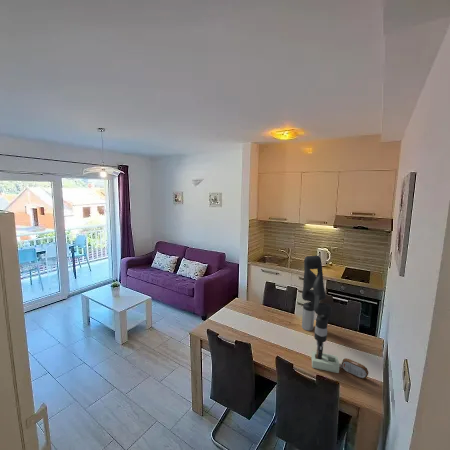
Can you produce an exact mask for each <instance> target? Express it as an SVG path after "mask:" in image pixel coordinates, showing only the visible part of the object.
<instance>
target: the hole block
mask: <svg viewBox="0 0 450 450" xmlns="http://www.w3.org/2000/svg"><path fill="white" fill-rule="evenodd" d="M316 353H317V351H313V350H312V351H311V367H312V369H317V370H321V371H322V370H323V371H327V372H331V373H336V374H339V373H340V361H339V356H338V355H334V354H330V353H324V352H323V353H322V354H323V355H322V357H321V360H320V359H316Z"/></svg>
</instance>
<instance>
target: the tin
mask: <svg viewBox="0 0 450 450" xmlns="http://www.w3.org/2000/svg"><path fill="white" fill-rule="evenodd" d="M341 367H342V369H343V370H344V371H345V372H346V373H348V374H350V375H352V376H355V377H357V378H359V379H362V380H363V379H364V380H365V379H366V378H368V376H369V369H368V368H367V367H366V366H365V365H364V364H361V363H359V362H357V361H355V360H353V359H350V358H348V357H347V358H343V359H342V361H341Z"/></svg>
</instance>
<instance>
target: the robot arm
mask: <svg viewBox="0 0 450 450" xmlns="http://www.w3.org/2000/svg"><path fill="white" fill-rule="evenodd" d="M303 266H304V267H303V268H304V269H303V271H304V272H303V285H302V286H303V287H302V292H301V293H302V294H301V298H302V300H303V301H305V302H304V303H303V306H302V319H301V328H302V329H303V330H304V331H313V330H314V334H313V335H314V336H313V337H314V338H313V339H315V340H316V351H317V350H318V359H320V360H321V357H322V355H323V354H322V353H324V343H325V342H327V339H328V338H327V337H328V325H329V324H328V323H329V319H330V318H331V315H332V314H333V313H332V312H333V308H332V306H331V304H330V303H327V302H323V303H321V301H323V300H326V299H327V294H326V290H325V285H324V274H323V264H322V259H321V257H320V256H319V255H309V256H306V257H304V261H303ZM312 270H317V275H316V274H315V272H313V271H312ZM306 301H307V302H306ZM315 314H316V315H318V316H317V317H316V319H315ZM314 324H315V326H314Z"/></svg>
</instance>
